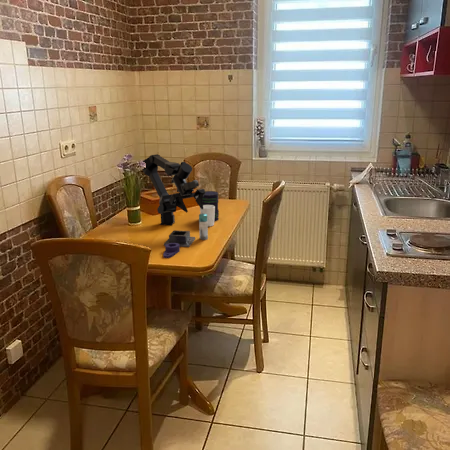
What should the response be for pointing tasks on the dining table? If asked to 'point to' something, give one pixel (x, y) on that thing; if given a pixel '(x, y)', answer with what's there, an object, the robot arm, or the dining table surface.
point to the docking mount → (180, 238)
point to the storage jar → (212, 201)
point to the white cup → (209, 213)
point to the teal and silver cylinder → (203, 226)
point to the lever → (171, 250)
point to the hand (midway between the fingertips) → (195, 210)
